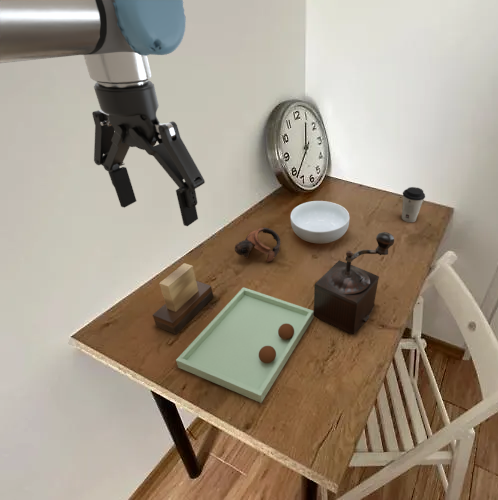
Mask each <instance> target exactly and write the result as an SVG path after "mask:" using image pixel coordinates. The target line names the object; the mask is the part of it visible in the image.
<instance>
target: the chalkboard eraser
mask: <svg viewBox="0 0 498 500" xmlns="http://www.w3.org/2000/svg"><path fill="white" fill-rule="evenodd" d="M158 284H159V288H160V291H161V294H162V298H163V301H164V304H163V305H162V306H161V307H160V308H159V309H157V310H156V311H155V312H154V313H153V314H152V317H153V321H154V323H155V326H156V328H158V329H161V330H164V331H166V332H168V333H171V334H173V335H177V334H178V333H180V331H181V330H182V329H183V328H184V327H185V326H187V324H188V323H189V322H190V321H191V320H192V319H193V318H195V316H196V315H197V314H198V313H199V312H201V310H202V309H203V308H205V306H206V305H207V304H208V303H209V302H210V301H211V300H212V299H213V298H214V292H213V288H212V285H210V284H208V283H204V282H201V281H199V280H197V278H196V273H195V269H194V266H193V265H192V264H188V263H185V262H184V263H182V264H181V265H180V266H178V267H177V268H176V269H175V270H173V271H172V272H171V273H170V274H169V275H167V276H166V277H165V278H164V279H163V280H161V281H160V282H159V283H158Z"/></svg>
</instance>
